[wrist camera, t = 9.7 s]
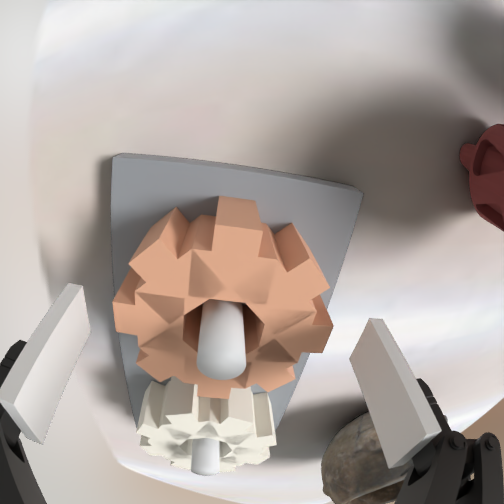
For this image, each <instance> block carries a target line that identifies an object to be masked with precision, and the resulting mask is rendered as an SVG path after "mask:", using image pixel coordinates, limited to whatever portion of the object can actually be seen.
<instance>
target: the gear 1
mask: <svg viewBox="0 0 504 504" xmlns="http://www.w3.org/2000/svg"><path fill="white" fill-rule="evenodd" d="M128 264H129V265H130V266H131V269H130V270H129V272H128V274H127V276H126V277H125V279H124V281H123V283H122V285H121V287H120V288H119V290H118V292H117V294H116V296H115V298H114V300H113V312H114V320H115V328H116V332H120V333H126V334H132V335H137V337H138V347H139V348H140V351H139V354H138V358H137V361H136V364H137V365H138V366H140V367H141V368H142V369H143V370H145V371H146V372H147V373H149V374H150V375H151V376H152V377H154V378H155V379H156V380H158V381H159V382H162V381H164V380H166V379H168V378H170V377H172V376H175V377H177V378H178V379H179V380H181V381H182V382H183V383H188V384H197V385H198V390H197V396H200V397H210V398H221V399H229V396H230V391H231V388H241V389H246V388H248V387H250V386H252V385H254V384H256V383H257V384H258V385H259V386H260V387H262V388H263V389H264V390H265V391H267V392H270V391H272V390H274V389H276V388H278V387H280V386H282V385H285V384H287V383H289V382H291V381H293V380H295V379H296V378H295V374H294V369H293V365H294V364H296V363H298V361H299V358H300V356H301V353H302V352H305V353H323V350H324V348H325V346H326V343H327V341H328V338H329V336H330V334H331V331H332V329H333V323H332V321H331V319H330V316H329V314H328V312H327V309H326V307H325V305H324V303H323V300H322V298H321V296H320V294H321V293H323V292H324V291H326V290H327V289H329V288H330V286H329V284H328V282H327V281H326V279H325V277H324V275H323V273H322V271H321V269H320V267H319V265H318V263H317V261H316V259H315V257H314V256H313V254H312V252H311V250H310V248H309V247H308V245H307V244H306V242H305V241H304V239H303V238H302V236H301V235H300V233H299V232H298V230H297V229H296V228H295V226H294V225H293V223H291V224H289V225H288V226H286V227H285V228H283V229H282V230H280V231H279V232H277V233H276V234H274V233H273V232H272V230H271V229H270V228H269V226H268V225H267V224H266V223H261V221H260V217H259V213H258V209H257V205H256V201H255V200H248V199H241V198H234V197H226V196H219V200H218V207H217V214H216V216H209V215H200V216H199V217H197V218H196V219H195V220H193V221H192V222H191V223H189V221H188V220H187V219H186V218H185V217H184V215H183V214H182V213H181V212H180V211H179V210H178V208H177V207H175V208H174V209H173V210H172V211H170V212H169V213H168V214H167V215H165V216H164V217H163V218H162V219H160V220H159V221H158V222H157V223H155V224H154V225H153V226H152V227H151V228H150V229H149V231H148V232H147V234H146V236H145V237H144V239H143V240H142V242H141V244H140V245H139V247H138V248H137V250H136V252H135V253H134V255H133V257H132V258H131V260H130V262H129V263H128ZM209 299H216V300H225V301H233V302H243V303H246V305H244V306H243V307H242V308H243V324H244V339H245V355H246V368H245V370H244V371H243V373H242V374H240V375H239V376H237V377H235V378H232V379H228V380H216V379H212V378H209V377H207V376H205V375H204V374H202V373H201V372H200V371H199V369H198V367H197V353H198V344H199V334H200V326H201V317H202V309H203V304H202V303H204V302H205V301H207V300H209Z"/></svg>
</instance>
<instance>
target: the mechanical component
mask: <svg viewBox="0 0 504 504" xmlns="http://www.w3.org/2000/svg"><path fill="white" fill-rule="evenodd" d="M460 161H461V163H462V164H463V166H464V167H465V168H467V169H468V170H469V172H470V173H469V186H470V194H471V199H472V202H473V205H474V207H475V209H476V211H477V213H478V214H479V215H480V216H481V217H482V218H483V219H485V220H486V221H488V222H490V223H491V224H493V225H494V226H496V227H498V228H499V229H501V230H502V231H504V124H496V125H493V126H491V127H489V128H488V129H487V130H486V131H485V132H484V133H483V134H482V136H481V137H480V139H479V141H478V143H477V144H476V145H473V144H469V143H466V144H464V145H463V146H462V147H461V150H460Z"/></svg>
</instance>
